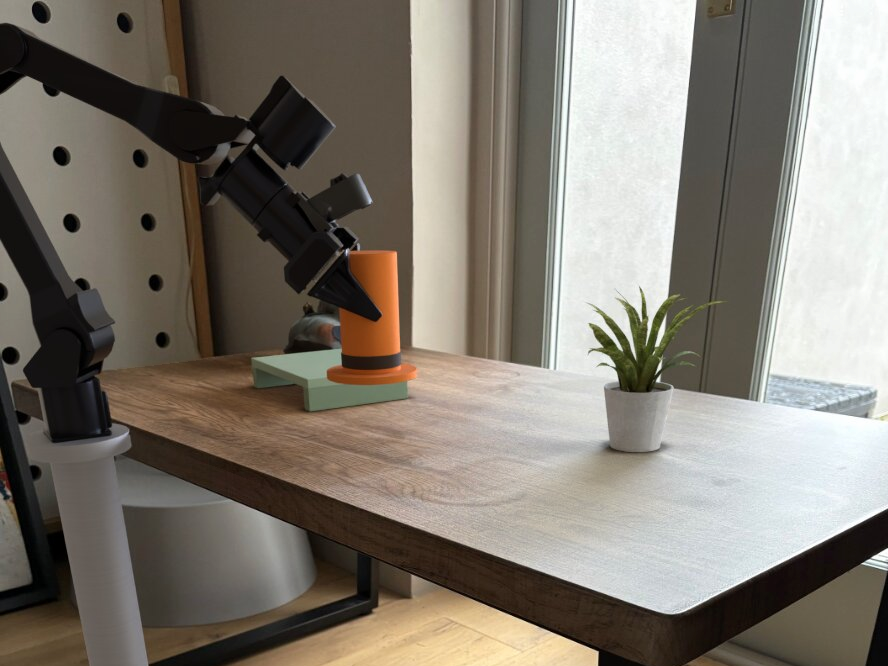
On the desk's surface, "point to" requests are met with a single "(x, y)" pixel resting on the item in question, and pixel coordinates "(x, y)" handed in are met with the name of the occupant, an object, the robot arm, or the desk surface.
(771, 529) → the desk surface
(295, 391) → the desk surface
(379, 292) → the hat
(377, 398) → the shelf
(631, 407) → the house plant
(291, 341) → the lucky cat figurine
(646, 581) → the desk surface
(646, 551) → the desk surface
